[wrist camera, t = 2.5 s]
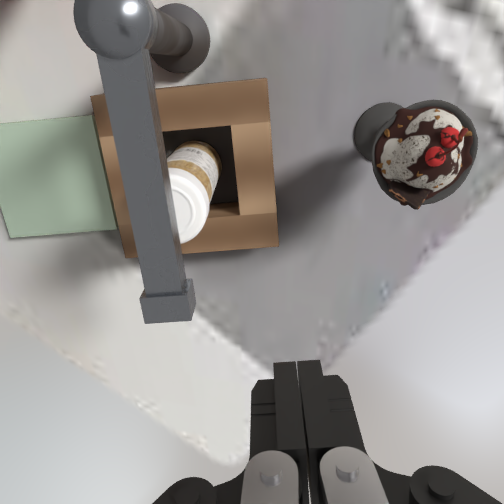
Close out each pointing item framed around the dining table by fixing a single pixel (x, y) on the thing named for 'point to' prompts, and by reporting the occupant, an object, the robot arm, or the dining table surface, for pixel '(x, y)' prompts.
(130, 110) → the bar
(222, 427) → the dining table surface
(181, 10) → the walnut dock
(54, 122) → the green mat
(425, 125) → the sundae
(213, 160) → the sprinkles bottle
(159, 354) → the dining table surface
